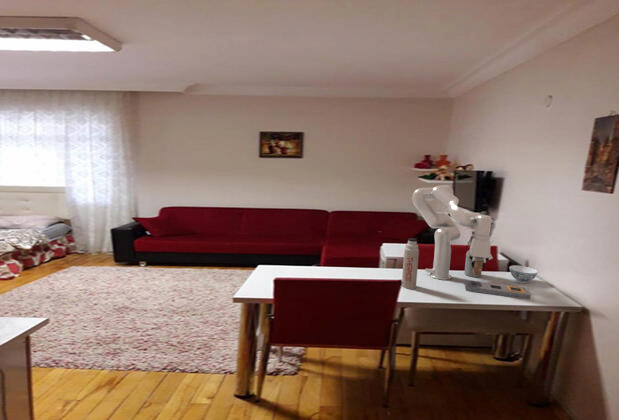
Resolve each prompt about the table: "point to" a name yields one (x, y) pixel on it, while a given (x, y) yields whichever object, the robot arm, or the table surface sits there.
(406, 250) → the thermos bottle
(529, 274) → the chinaware
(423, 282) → the table surface
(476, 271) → the peg
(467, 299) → the table surface
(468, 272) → the water bottle
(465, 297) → the table surface
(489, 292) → the gray peg board
